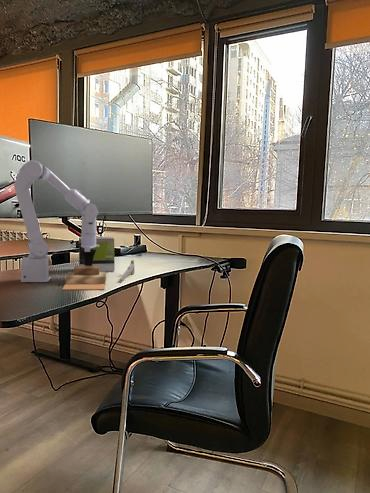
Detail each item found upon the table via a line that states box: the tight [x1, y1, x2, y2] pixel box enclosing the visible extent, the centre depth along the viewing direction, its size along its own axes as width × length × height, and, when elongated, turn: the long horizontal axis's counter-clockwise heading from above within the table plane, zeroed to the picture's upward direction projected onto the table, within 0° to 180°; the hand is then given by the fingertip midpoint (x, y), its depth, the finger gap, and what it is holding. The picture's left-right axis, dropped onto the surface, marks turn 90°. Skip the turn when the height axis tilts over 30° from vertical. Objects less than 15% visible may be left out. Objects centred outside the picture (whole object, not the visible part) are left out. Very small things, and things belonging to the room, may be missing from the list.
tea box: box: [78, 236, 115, 272], centre depth 174 cm, size 15×10×15 cm
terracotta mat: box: [61, 283, 106, 291], centre depth 139 cm, size 14×9×1 cm, turn 99°
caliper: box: [118, 259, 135, 284], centre depth 158 cm, size 20×1×6 cm, turn 173°
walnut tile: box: [73, 265, 100, 275], centre depth 149 cm, size 9×6×2 cm, turn 99°
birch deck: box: [65, 271, 107, 285], centre depth 148 cm, size 14×10×3 cm
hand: (88, 267), depth 157 cm, fingers closed
